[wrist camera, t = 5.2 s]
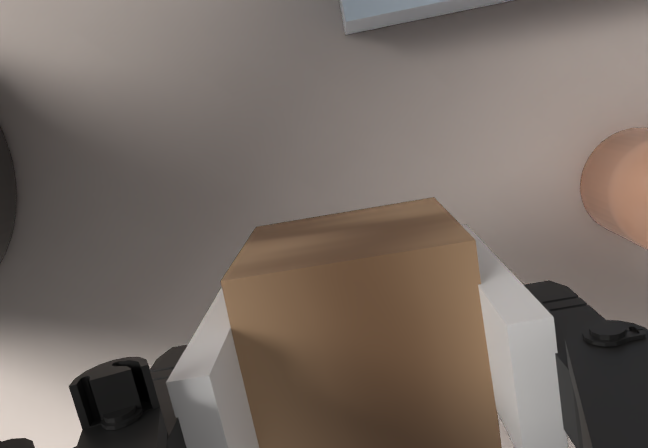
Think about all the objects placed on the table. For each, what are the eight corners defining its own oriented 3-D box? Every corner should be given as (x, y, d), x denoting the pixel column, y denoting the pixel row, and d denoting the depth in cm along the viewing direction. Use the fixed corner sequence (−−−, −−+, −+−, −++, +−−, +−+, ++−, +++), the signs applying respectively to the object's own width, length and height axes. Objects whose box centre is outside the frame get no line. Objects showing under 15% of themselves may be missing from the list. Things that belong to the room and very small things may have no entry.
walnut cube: (289, 388, 17) (269, 502, 12) (256, 226, 16) (220, 281, 11) (457, 363, 17) (503, 470, 12) (433, 197, 16) (475, 240, 11)
